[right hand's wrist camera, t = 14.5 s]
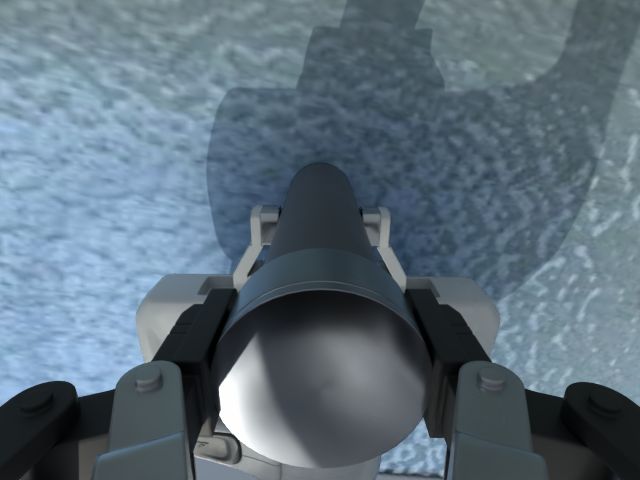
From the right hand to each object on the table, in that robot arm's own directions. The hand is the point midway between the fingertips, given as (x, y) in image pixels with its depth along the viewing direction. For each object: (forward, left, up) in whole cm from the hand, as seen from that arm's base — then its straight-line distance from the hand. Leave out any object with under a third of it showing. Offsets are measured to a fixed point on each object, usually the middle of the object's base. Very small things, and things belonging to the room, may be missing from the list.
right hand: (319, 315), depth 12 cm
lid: (0, 0, +3) cm, 3 cm away
